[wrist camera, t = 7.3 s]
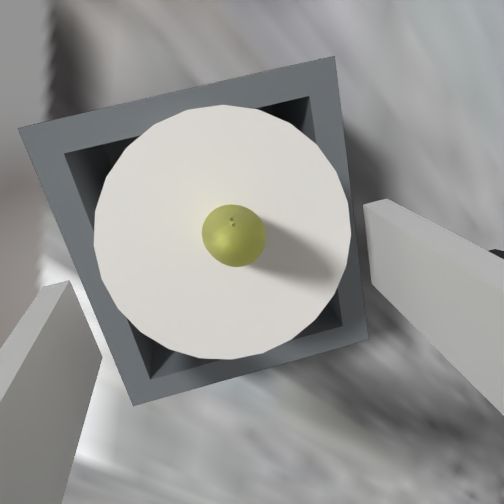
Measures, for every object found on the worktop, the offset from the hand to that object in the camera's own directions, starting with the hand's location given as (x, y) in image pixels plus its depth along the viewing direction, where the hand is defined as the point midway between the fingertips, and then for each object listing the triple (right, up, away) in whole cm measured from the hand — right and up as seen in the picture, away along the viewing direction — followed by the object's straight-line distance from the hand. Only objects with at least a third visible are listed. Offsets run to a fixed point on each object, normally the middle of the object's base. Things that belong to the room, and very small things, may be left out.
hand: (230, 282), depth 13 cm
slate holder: (-2, +4, +9) cm, 10 cm away
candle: (-1, +3, +8) cm, 9 cm away
